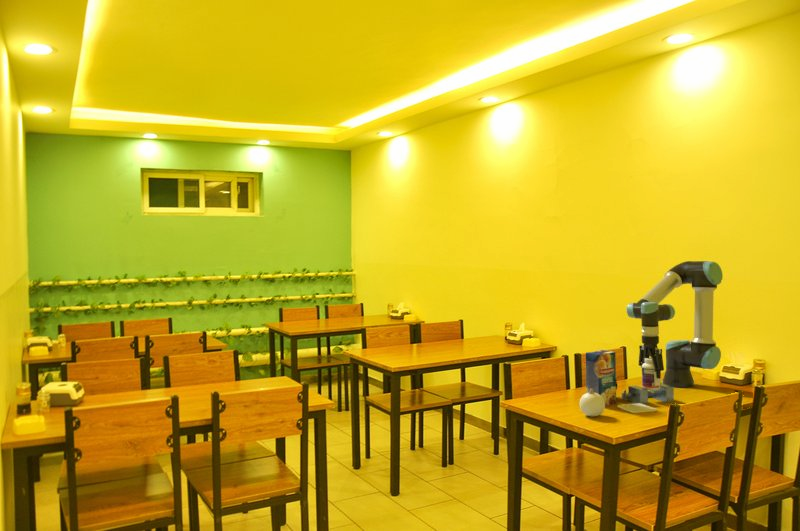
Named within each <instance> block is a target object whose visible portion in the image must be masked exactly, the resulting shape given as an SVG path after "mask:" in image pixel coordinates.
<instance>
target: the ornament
mask: <svg viewBox="0 0 800 531" xmlns="http://www.w3.org/2000/svg"><path fill="white" fill-rule="evenodd" d="M579 408H580V411H582V413H583V414H584V415H586V416H588V417H591V418H592V417H598V416H601V415H602V414H603V413H604V411H605V409H606V406H605V402H604V399H603V398H602V396H601V395H599V394H597V393H594V391H593V389H590V391H589V393H586V392H585V393H584V394H582V396H581V397H580V400H579Z"/></svg>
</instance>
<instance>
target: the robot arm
mask: <svg viewBox="0 0 800 531" xmlns="http://www.w3.org/2000/svg"><path fill="white" fill-rule="evenodd" d="M722 280H723V270H722V267H721V266H720V265H719V263H717V262H715V261H709V260H701V261H699V260H698V261H697V260H696V261H695V260H693V261H690V260H689V261H688V260H686V261H683V262H680V263H678V264H676V265H674V266H673V267H671V268H670V269H669V270H668V271H666V273H664V275H663V277H662V279H661V280H659V282H657V283H656V284H655V285H654V286H653V287H652V288H651V289H650V290H648V292H646V294H645V295H643V296H642V297H641V298H640V299H639V300H638V301H637V302H631V303H628V304H627V306H626V314H627V316H628V317H630V318H632V319H639V320H640V319H641V320H640V321H641V343H642V344H641V345H639V346H638V349H639V356H638V366H640V368H641V369H642V364H644V363H645V358H652V361H653V364H654V368H655V371H654V385H655V386H656V385H660V382H661V376H662V375H661V374H662V373H661V372H662V371H665V372H664V375H663V378H662V384H666V385H669V386H672V387H675V388H692V387H694V386H695V381H694V378H693V375H692V372H691V368H698V369H703V370H713V369H715V368H716V367H717V366H718V365H719V363H720V362H721V358H722V351H721V349H720V347H718V346H717V342H716V341H715V340H714V339H713V338H714V337H713V335H714V294H715V291H716V290H717V288H718V285H720V284H722ZM686 284H690V285H691V288H692V290H694V312H693V313H694V314H693V315H694V316H693V319H694V320H693V321H694V322H693V324H694V325H693V338H692V339H691V340H690V339H689V340H688V339H682V340H671V341H668V342H666V344H665V366H664V360H663V349H662V348H658V344H659V343H660V337H659V334H660V331H659V330H660V329H659V322H663V321H669V320H671V319H673V318H674V317H675V315H676V309H675V308H674V306H672V305H671V304H669V303H668V304H667V303H666V304H665V303H662V304H660V303H661V302H662V301H663V300H665V298H666V297H667V296H668V295H669V294H671V293H672V292H673V291H674V290H675V289H678V288H679V287H682V285H686ZM657 368H658V369H657Z"/></svg>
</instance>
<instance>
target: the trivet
mask: <svg viewBox="0 0 800 531" xmlns="http://www.w3.org/2000/svg"><path fill="white" fill-rule="evenodd" d="M616 407H617V408H618V409H621V410H624V411H625V412H628V413H629V412H630V413H631V414H640V413H649V412H657V410H658V408H655V407H652V406H649V405H648V404H646V405H644V404H641V403H626V404H617V405H616Z"/></svg>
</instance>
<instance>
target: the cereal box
mask: <svg viewBox="0 0 800 531" xmlns="http://www.w3.org/2000/svg"><path fill="white" fill-rule="evenodd" d="M616 356H617V355H616V352H615V351H612V350H605V349H604V350H602V349H601V350H596V351H588V352H585V387H586V388H585V390H586V392H585V394H586V393H589V391H590V389H593V391H594V393H597V394H599V395H601V396H602V398H603V399H604V402H605V407H606V406H610V405H615V404H617V390H616V382H617V374H616V373H617V369H616V365H617V363H616V361H617V360H616Z"/></svg>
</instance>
